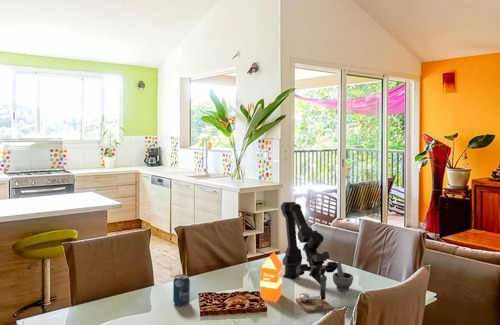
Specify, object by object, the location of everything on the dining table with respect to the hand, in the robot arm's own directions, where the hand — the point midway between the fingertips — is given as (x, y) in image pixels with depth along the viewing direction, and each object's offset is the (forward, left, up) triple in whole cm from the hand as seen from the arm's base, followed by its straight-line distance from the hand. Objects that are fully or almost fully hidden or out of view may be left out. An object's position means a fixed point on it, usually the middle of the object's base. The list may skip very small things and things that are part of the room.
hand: (322, 285), depth 178 cm
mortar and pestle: (0, +22, -8) cm, 23 cm away
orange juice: (-22, -8, -8) cm, 25 cm away
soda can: (-49, -38, -8) cm, 62 cm away
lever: (-3, -4, -6) cm, 8 cm away
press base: (-2, -5, -8) cm, 9 cm away
